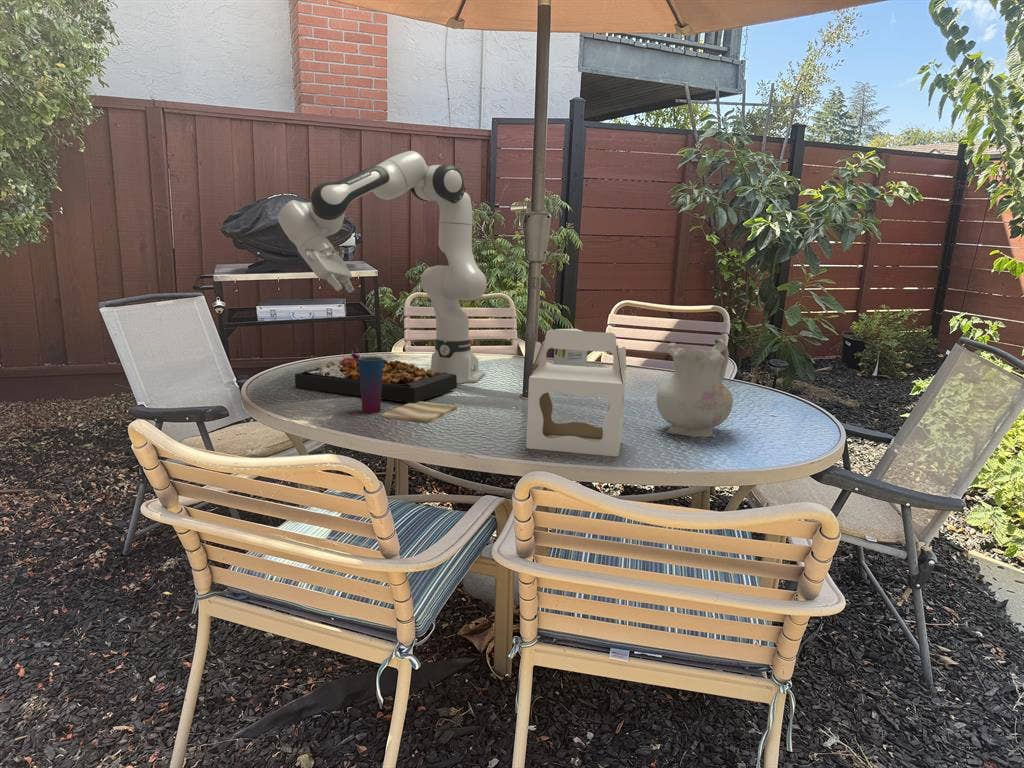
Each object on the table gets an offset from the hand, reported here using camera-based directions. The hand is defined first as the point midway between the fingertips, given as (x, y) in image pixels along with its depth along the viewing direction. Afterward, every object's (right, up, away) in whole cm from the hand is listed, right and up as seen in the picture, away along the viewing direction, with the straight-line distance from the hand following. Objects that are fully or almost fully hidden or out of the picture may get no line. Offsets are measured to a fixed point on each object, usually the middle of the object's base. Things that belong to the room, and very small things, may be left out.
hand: (346, 290), depth 200 cm
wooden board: (+22, -35, -5) cm, 42 cm away
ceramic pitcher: (+96, -40, -15) cm, 105 cm away
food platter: (+4, -28, +23) cm, 37 cm away
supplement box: (+69, -24, +56) cm, 92 cm away
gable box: (+63, -42, -31) cm, 82 cm away
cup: (+8, -35, -5) cm, 36 cm away
